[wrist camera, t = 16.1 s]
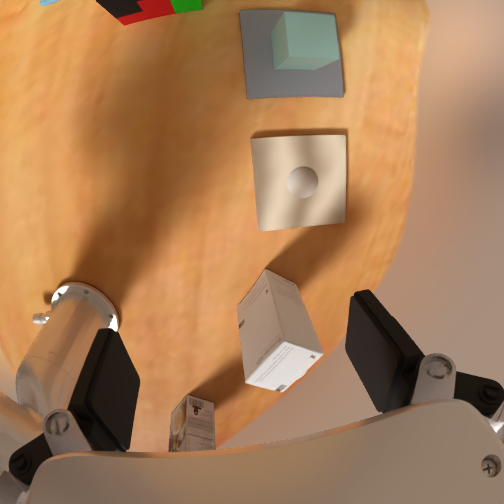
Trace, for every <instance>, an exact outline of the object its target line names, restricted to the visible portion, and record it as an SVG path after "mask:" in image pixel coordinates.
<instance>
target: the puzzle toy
mask: <svg viewBox="0 0 504 504" xmlns="http://www.w3.org/2000/svg"><path fill="white" fill-rule="evenodd" d="M96 2H97V3H99V4H100V5H101V6H102V7H103V8H105V9H106V10H107V11H108V12H109V13H111V14H112V15H113V16H114V17H115V18H116V19H118V20H119V21H120V22H121V23H122V24H123V25H128V24H132V23H135V22H139V21H143V20H147V19H152V18H156V17H161V16H165V15H170V14H176V13H181V12H187V11H194V10H201V9H203V8H202V0H96Z"/></svg>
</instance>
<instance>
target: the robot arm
mask: <svg viewBox="0 0 504 504" xmlns="http://www.w3.org/2000/svg"><path fill="white" fill-rule="evenodd" d="M51 306H52V309H51V311H47V312H46V314H43V313H36V314H34V315H33V322H34V324H36V325H44V326H43V327H42V329H41V330H40V332H39V334H38V335H37V337H36V338H35V340H34V342H33V343H32V345H31V347H30V348H29V350H28V352H27V353H26V355H25V357H24V359H23V360H22V362H21V364H20V366H19V368H18V370H17V374H16V381H15V384H16V394H17V399H18V403H17V402H15V401H13V400H12V399H11V398H9V397H8V396H7V395H6V394H4V393H3V392H2V391H1V390H0V504H504V389H503V387H502V386H501V385H500V384H499V383H498V382H496V381H494V380H491V379H487V378H483V377H478V376H474V375H470V374H465V373H462V372H457V371H456V366H455V364H454V362H453V361H452V360H451V359H450V358H449V357H447V356H446V355H443V354H436V353H434V354H429V355H427V356H425V355H424V354H423V353H422V351H421V350H420V349H419V348H418V346H417V345H416V344H415V342H414V341H413V340H412V339H411V338H410V336H409V335H408V334H407V333H406V331H405V330H404V329H403V328H402V326H401V325H400V324H399V323H398V322H397V320H396V319H395V318H394V317H393V316H391V315H390V314H389V312H388V311H387V310H386V309H385V308H384V307H383V305H382V304H381V303H380V302H379V300H378V299H377V298H376V297H375V296H374V294H373V293H372V292H371V291H370V290H369V289H367V290H362V291H357V292H355V293H354V296H352V297H351V298H350V307H349V317H348V327H347V335H346V343H345V349H346V353H347V355H348V357H349V358H350V360H351V362H352V364H353V366H354V368H355V370H356V371H357V373H358V375H359V377H360V379H361V381H362V382H363V385H364V386H365V388H366V390H367V392H368V394H369V396H370V398H371V400H372V402H373V404H374V406H375V407H376V409H377V411H378V412H382V413H383V414H380V415H378V416H374V417H371V418H368V419H365V420H361V421H358V422H355V423H351V424H348V425H345V426H341V427H337V428H334V429H330V430H326V431H323V432H318V433H314V434H310V435H305V436H301V437H296V438H291V439H286V440H281V441H276V442H270V443H264V444H258V445H251V446H244V447H236V448H227V449H217V450H205V451H189V452H126V450H128V449H129V448H130V442H131V435H132V428H133V422H134V415H135V409H136V403H137V398H138V392H139V387H140V378H139V375H138V373H137V371H136V369H135V367H134V365H133V363H132V361H131V359H130V357H129V355H128V353H127V350H126V348H125V346H124V344H123V342H122V339H121V337H120V335H119V333H118V328H119V318H118V314H117V311H116V309H115V308H114V306H113V304H112V303H111V302H110V300H109V299H108V298H107V297H106V296H105V295H104V294H103V293H102V292H100V291H99V290H98V289H96V288H94V287H92V286H90V285H88V284H85V283H80V282H69V283H65V284H63V285H61V286H60V287H59V288H58V289H57V290H56V292H55V293H54V295H53V297H52V302H51Z"/></svg>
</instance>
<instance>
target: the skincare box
mask: <svg viewBox="0 0 504 504" xmlns="http://www.w3.org/2000/svg"><path fill="white" fill-rule="evenodd" d="M237 314H238V324H239V332H240V341H241V350H242V357H243V366H244V374H245V382H246V383H248V384H251V385H255V386H259V387H262V388H266V389H270V390H274V391H279V392H284V391H285V390H286V389H287V388H288V387H289V386H290V385H291V384H292V383H293V382H294V381H296V380H297V379H299V378H301V377H302V376H303V375H304V374H305V373H306V371H307V369H308V368H309V367H310V366H311V365H313V364H314V363H315V362H316V361H317V360H318V359H319V358H320V357H321V356H322V355H323V354H324V352H323V350H322V347H321V345H320V342H319V340H318V338H317V335H316V332H315V330H314V327H313V325H312V322H311V320H310V318H309V315H308V313H307V310H306V308H305V305H304V303H303V300H302V298H301V295H300V293H299V290H298V288H297V285H296V284H295V283H293V282H291V281H289V280H287V279H285V278H283V277H281V276H279V275H277V274H275V273H274V272H272V271H270V270H268V269H264V271H263V272H262V274H261V276H260V277H259V279H258V280H257V282H256V283H255V285H254V286H253V287H252V289H251V290H250V291H249V293H248V294H247V295H246V297H245V298H244V299H243V300H242V302H241V303H240V304H239V305H238V306H237Z"/></svg>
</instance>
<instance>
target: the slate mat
mask: <svg viewBox="0 0 504 504" xmlns="http://www.w3.org/2000/svg"><path fill="white" fill-rule="evenodd" d="M284 12H300V13H314V14H324V15H333V16H334V17H335V24H336V33H337V42H338V51H339V60H336V61H334V62H332V63H330V64H327V65H325V66H323V67H321V68H318V69H316V70H274V61H273V49H272V38H271V32H272V30H273V29H274V27H275V26H276V24H277V23H278V21H279V19H280V18H281V16H282V15H283V13H284ZM239 14H240V25H241V36H242V47H243V58H244V69H245V80H246V92H247V99H257V98H277V97H338V98H342V97H344V93H343V79H342V67H341V56H340V47H339V38H338V30H337V23H336V15H335V13H327V12H317V11H303V10H275V9H264V10H240V12H239Z"/></svg>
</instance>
